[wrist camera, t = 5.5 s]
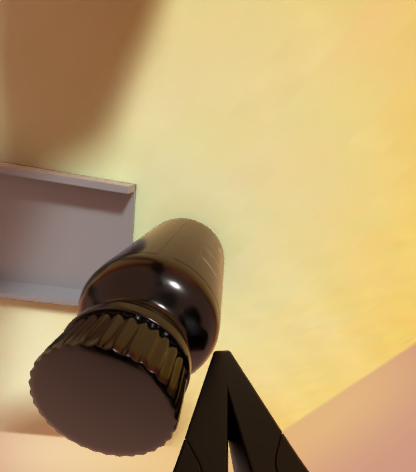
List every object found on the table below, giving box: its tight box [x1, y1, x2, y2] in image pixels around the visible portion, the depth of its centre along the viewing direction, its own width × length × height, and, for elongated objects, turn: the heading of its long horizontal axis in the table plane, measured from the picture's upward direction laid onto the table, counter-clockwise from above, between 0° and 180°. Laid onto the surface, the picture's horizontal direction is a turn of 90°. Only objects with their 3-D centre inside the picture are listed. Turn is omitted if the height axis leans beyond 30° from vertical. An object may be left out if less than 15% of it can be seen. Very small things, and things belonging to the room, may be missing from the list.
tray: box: [0, 162, 136, 306], centre depth 16 cm, size 14×10×2 cm
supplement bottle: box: [29, 218, 224, 457], centre depth 12 cm, size 7×7×12 cm
